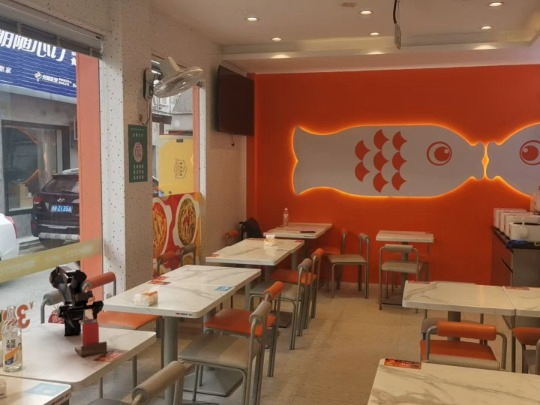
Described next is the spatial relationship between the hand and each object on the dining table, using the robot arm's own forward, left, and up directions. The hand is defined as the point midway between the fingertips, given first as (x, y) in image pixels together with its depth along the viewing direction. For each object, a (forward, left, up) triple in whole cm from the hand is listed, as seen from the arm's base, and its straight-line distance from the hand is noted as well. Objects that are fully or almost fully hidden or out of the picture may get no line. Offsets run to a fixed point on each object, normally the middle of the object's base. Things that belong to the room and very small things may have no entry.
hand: (85, 325), depth 235 cm
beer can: (+3, -7, -8) cm, 11 cm away
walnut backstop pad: (+3, -7, -9) cm, 12 cm away
